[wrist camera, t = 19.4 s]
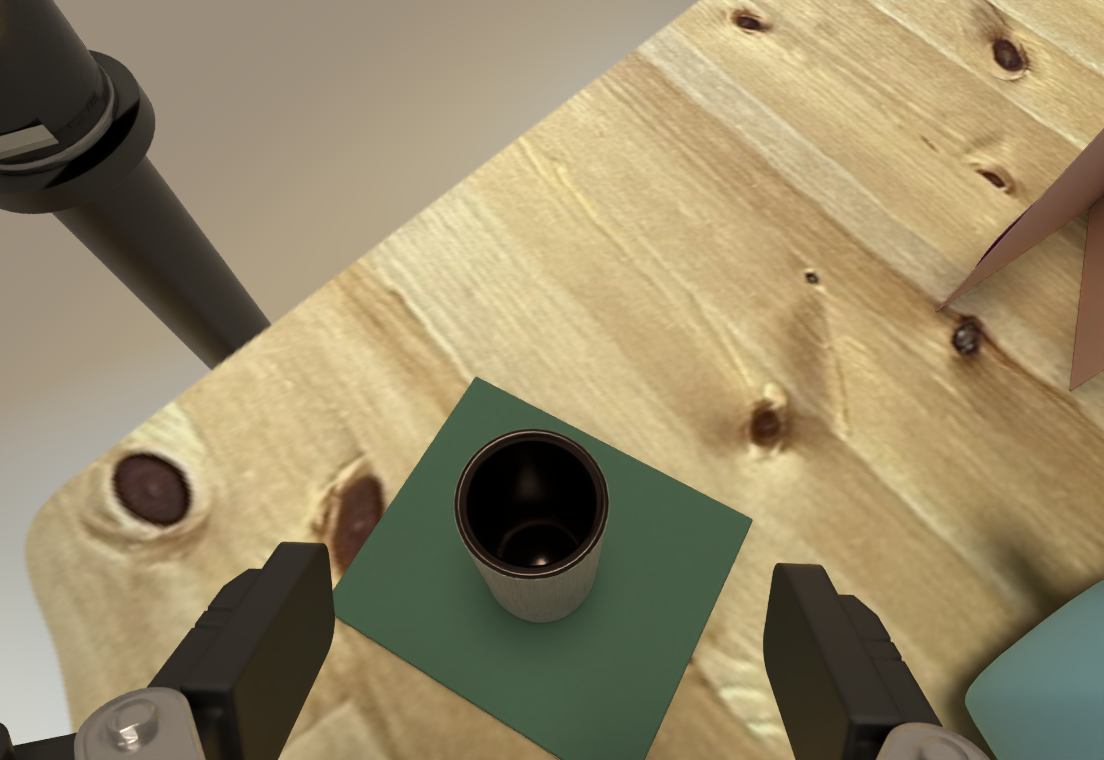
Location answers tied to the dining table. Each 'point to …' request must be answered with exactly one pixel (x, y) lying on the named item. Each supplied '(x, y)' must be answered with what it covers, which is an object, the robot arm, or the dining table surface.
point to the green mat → (559, 646)
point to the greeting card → (1087, 183)
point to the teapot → (1047, 688)
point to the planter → (534, 521)
